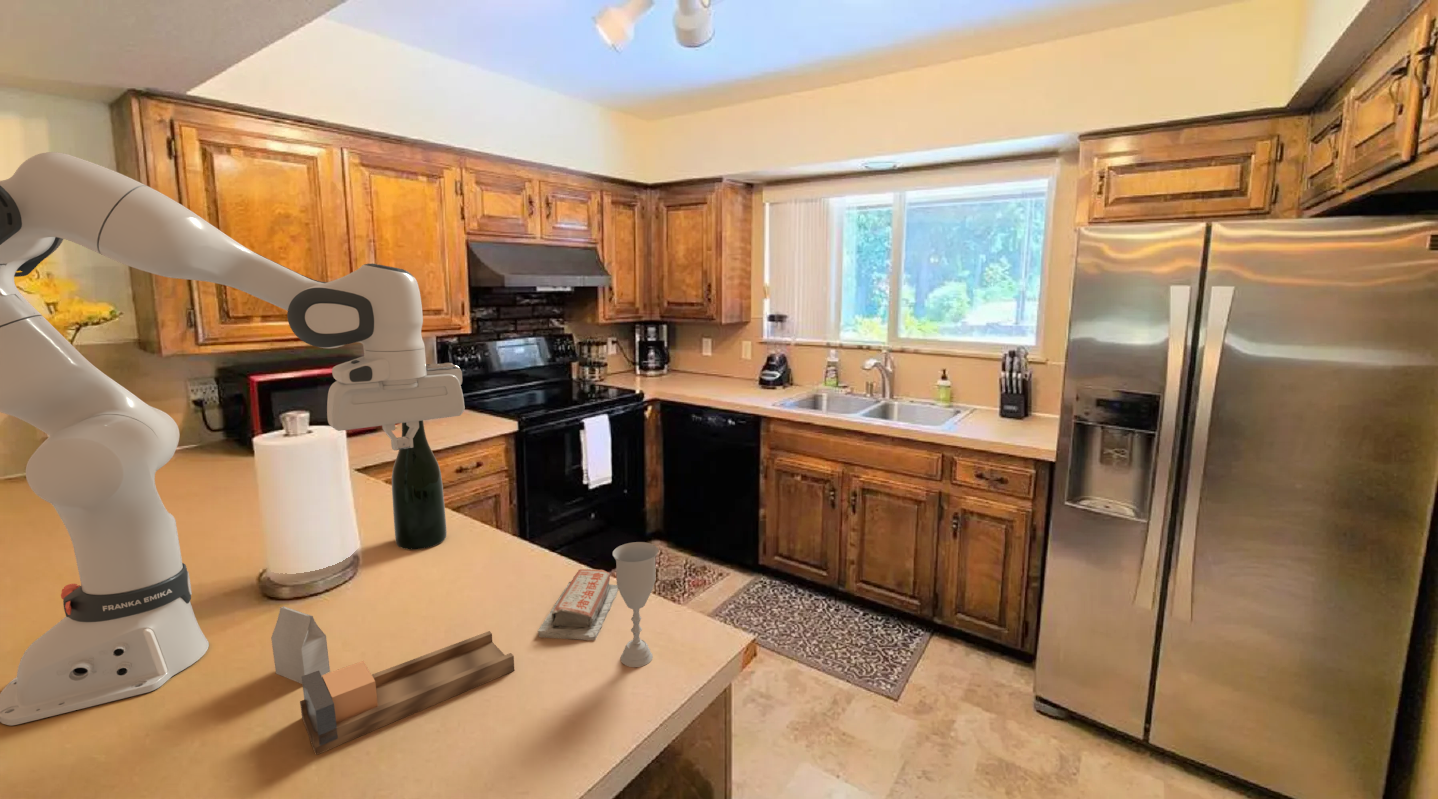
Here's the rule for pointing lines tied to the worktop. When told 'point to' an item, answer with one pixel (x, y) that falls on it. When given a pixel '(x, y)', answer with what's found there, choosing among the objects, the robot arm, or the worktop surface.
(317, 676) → the end stop
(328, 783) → the worktop surface
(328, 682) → the orange block
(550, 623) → the packaged product
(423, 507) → the beer bottle
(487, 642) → the track
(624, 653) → the chalice
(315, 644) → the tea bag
